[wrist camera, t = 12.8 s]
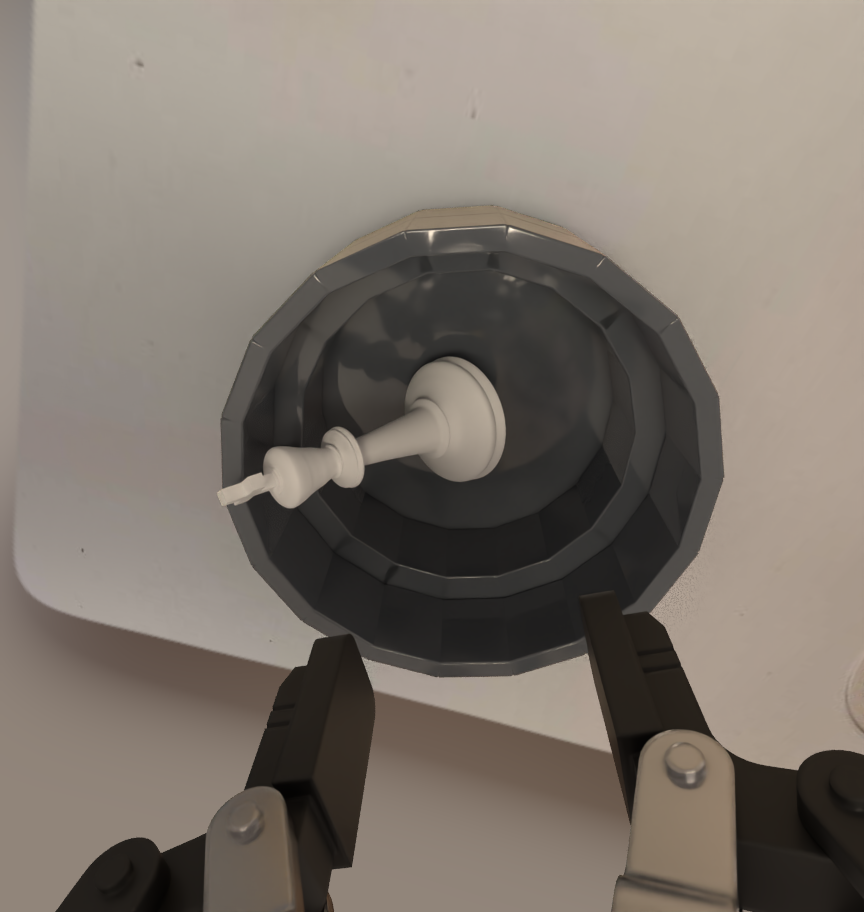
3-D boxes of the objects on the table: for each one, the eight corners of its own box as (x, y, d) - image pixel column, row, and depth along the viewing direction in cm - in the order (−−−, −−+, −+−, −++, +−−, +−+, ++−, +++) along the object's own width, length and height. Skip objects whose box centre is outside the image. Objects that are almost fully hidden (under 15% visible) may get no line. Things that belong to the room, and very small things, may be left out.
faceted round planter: (345, 581, 32) (310, 707, 24) (230, 257, 25) (138, 297, 18) (667, 523, 30) (735, 643, 22) (628, 156, 23) (704, 155, 16)
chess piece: (527, 456, 23) (287, 558, 17) (448, 493, 27) (227, 589, 21) (470, 333, 24) (215, 389, 17) (400, 387, 28) (168, 449, 21)
